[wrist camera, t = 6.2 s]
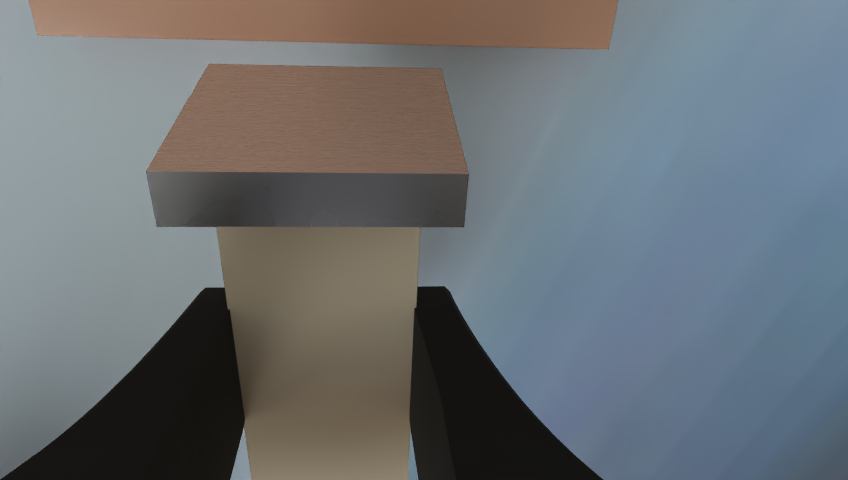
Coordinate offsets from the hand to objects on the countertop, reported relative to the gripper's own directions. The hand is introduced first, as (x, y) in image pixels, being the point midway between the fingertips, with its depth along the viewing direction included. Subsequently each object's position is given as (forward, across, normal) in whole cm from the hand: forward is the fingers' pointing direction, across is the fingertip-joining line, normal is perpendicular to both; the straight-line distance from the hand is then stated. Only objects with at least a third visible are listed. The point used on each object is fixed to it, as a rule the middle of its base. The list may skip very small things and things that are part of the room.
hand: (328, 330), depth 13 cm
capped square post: (+2, 0, +2) cm, 3 cm away
